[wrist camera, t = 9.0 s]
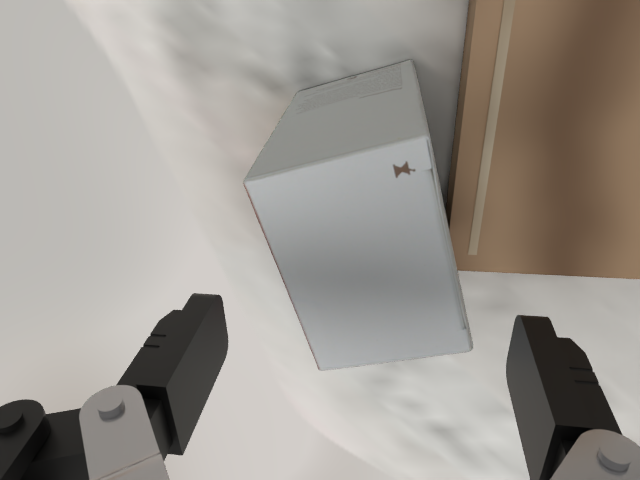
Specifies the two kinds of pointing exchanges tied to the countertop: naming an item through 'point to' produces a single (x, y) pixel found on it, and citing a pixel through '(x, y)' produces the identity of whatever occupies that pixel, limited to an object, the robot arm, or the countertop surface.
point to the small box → (361, 222)
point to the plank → (548, 139)
